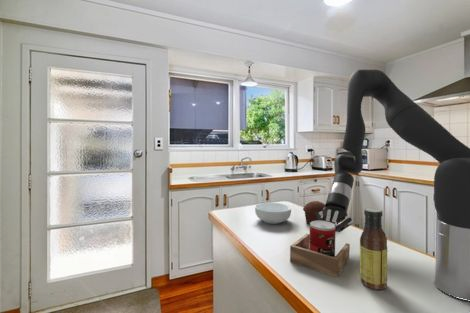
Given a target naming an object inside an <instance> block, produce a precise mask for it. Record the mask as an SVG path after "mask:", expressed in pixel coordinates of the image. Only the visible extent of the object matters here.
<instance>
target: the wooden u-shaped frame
mask: <svg viewBox="0 0 470 313" xmlns="http://www.w3.org/2000/svg"><path fill="white" fill-rule="evenodd" d="M350 246H351V244H350V243H345V244H344V245H343V247H341V249H340V250H339V252H337V254H335V257H332V256H329V255H325V254H322V253H318V252H315V251H311V250H310V233H306V234H304V235H303V236H302V237H300V238H299V239H297V240H296V241H295V242H293V243H292V244H291V245H290V246H289V256H290V257H289V262H290V263H293V264H295V265H299V266H302V267H305V268H308V269H311V270H314V271H317V272H319V273H322V274H326V275H329V276H331V277H334V276H335V278H338V277H337V276H339V275H340V274H341V272H342V271H343V270H344V268H345V267H346V265H347V263H348V262H349V260H350ZM341 270H342V271H341ZM339 273H340V274H339Z"/></svg>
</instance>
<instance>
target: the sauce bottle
mask: <svg viewBox="0 0 470 313" xmlns="http://www.w3.org/2000/svg"><path fill="white" fill-rule="evenodd" d="M363 215H364V226H363V230H362V232H361V235H360V237H359V276H360V281H361V283H362V284H363V285H364V286H366V287H367V288H369V289H371V290H377V291H378V290H379V291H381V290H385V289H386V288H387V286H388V238H387V236H386V233H385V231H384V229H383V228H382V227H383V225H382V217H383V215H384V214H383V210H382V209H380V208H374V207H366V208H364V214H363Z"/></svg>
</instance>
